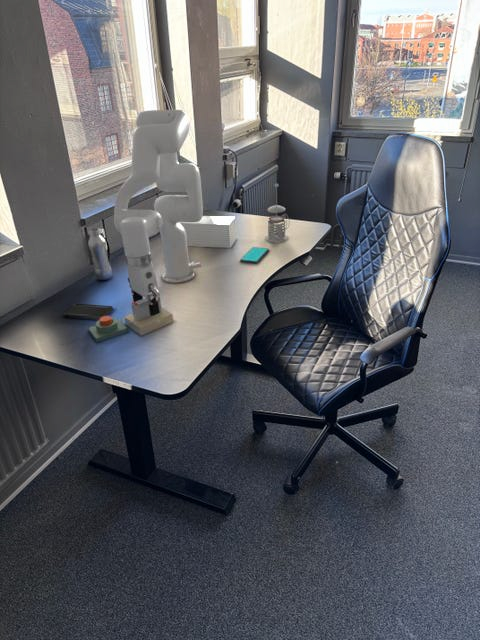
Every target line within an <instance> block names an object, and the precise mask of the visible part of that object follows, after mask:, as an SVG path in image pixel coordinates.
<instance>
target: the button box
mask: <svg viewBox="0 0 480 640" xmlns="http://www.w3.org/2000/svg"><path fill="white" fill-rule="evenodd" d="M111 318H112V324H110V325H107V326H101V324H100V320H96V322H95V325H91V326H89V327H87V329H88V333H89V334H90V335H91V336H92V337H93V339H94V341H95V342H96V343H98V342H102V341H105V340H108V339H111V338H113V337H114V338H115V337H117V336H119V335H123V334H125V333H128V327H127V325H126V324H124V322H122V320H120V318H119V317H117V318H116V317H112V316H111Z"/></svg>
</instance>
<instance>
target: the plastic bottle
mask: <svg viewBox="0 0 480 640" xmlns="http://www.w3.org/2000/svg"><path fill="white" fill-rule="evenodd" d="M88 231H89V236H90V237H89V239H88V241H87V245H88V248H89V251H90V253H91V256H92V260H93V267H94V275H95V278H96V279H97V280H101V281H105V280H109V279H111V278H112V276H113V270H112V267H111V264H110V261H109V258H108V251H107V241H106V239H105V238H104V237H103V236H102V235H101V230H100V228H99V227H94V228H90V229H89V230H88Z"/></svg>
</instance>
